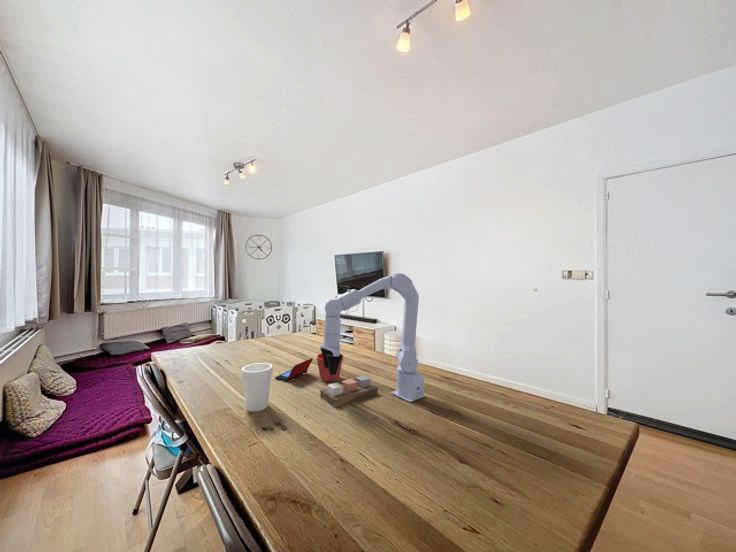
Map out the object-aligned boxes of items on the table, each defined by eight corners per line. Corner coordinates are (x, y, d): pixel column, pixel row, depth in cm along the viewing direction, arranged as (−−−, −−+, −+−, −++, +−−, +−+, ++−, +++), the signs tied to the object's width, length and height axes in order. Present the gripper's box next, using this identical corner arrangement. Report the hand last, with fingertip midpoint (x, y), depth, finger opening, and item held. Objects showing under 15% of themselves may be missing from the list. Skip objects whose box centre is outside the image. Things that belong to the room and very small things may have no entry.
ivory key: (343, 394, 98) (343, 385, 98) (333, 397, 96) (333, 388, 96) (337, 390, 101) (337, 382, 101) (327, 393, 99) (327, 385, 99)
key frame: (377, 393, 104) (377, 386, 104) (335, 407, 93) (335, 400, 93) (361, 385, 112) (361, 378, 112) (320, 397, 101) (320, 390, 101)
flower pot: (341, 383, 114) (341, 359, 114) (314, 383, 114) (314, 358, 114) (344, 374, 124) (344, 351, 124) (319, 373, 125) (319, 351, 125)
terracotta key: (357, 390, 102) (357, 381, 102) (347, 393, 99) (347, 384, 99) (350, 386, 105) (350, 378, 105) (341, 389, 103) (341, 381, 103)
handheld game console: (294, 370, 129) (294, 354, 129) (313, 374, 124) (313, 357, 124) (273, 379, 118) (273, 362, 118) (294, 384, 113) (294, 365, 113)
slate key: (370, 386, 106) (370, 378, 106) (361, 388, 103) (361, 380, 103) (363, 383, 109) (363, 375, 109) (355, 385, 106) (355, 377, 106)
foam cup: (235, 409, 91) (235, 369, 91) (258, 398, 100) (258, 361, 99) (255, 416, 87) (255, 374, 87) (278, 404, 95) (278, 365, 95)
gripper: (316, 329, 107) (314, 365, 107) (325, 337, 94) (323, 379, 94) (335, 328, 110) (333, 364, 110) (346, 337, 96) (344, 377, 96)
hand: (330, 370), depth 102 cm, fingers open, 7 cm apart
